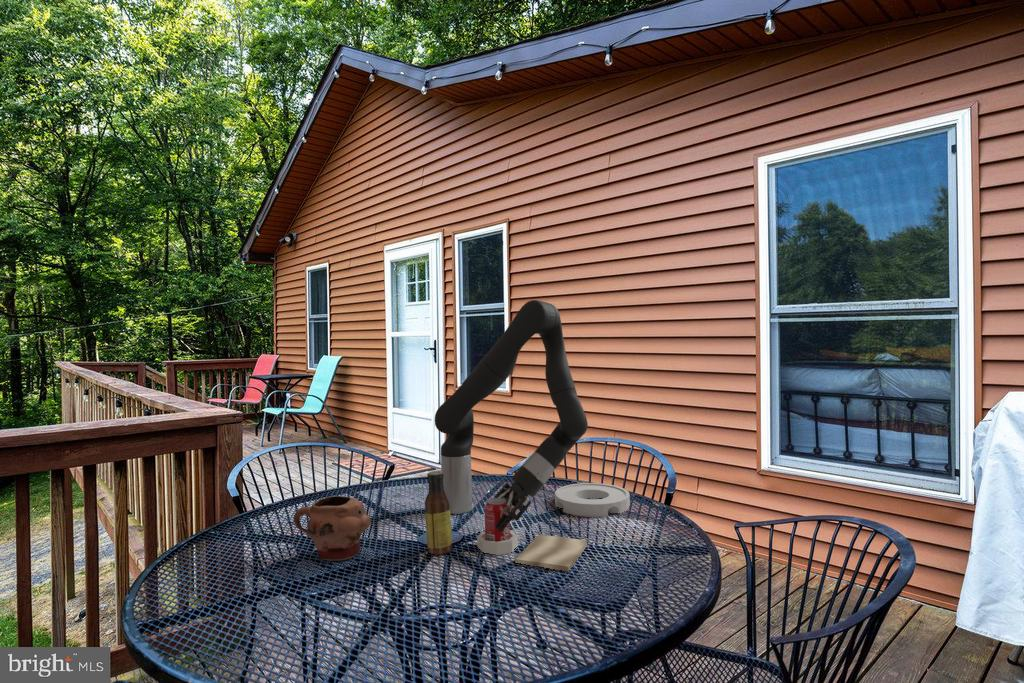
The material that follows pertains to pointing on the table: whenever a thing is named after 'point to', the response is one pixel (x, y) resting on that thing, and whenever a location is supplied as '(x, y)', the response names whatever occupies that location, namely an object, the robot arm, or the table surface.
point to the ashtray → (577, 504)
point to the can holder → (497, 544)
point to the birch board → (552, 552)
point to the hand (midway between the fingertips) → (492, 523)
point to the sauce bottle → (437, 516)
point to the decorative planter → (335, 526)
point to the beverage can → (495, 520)
